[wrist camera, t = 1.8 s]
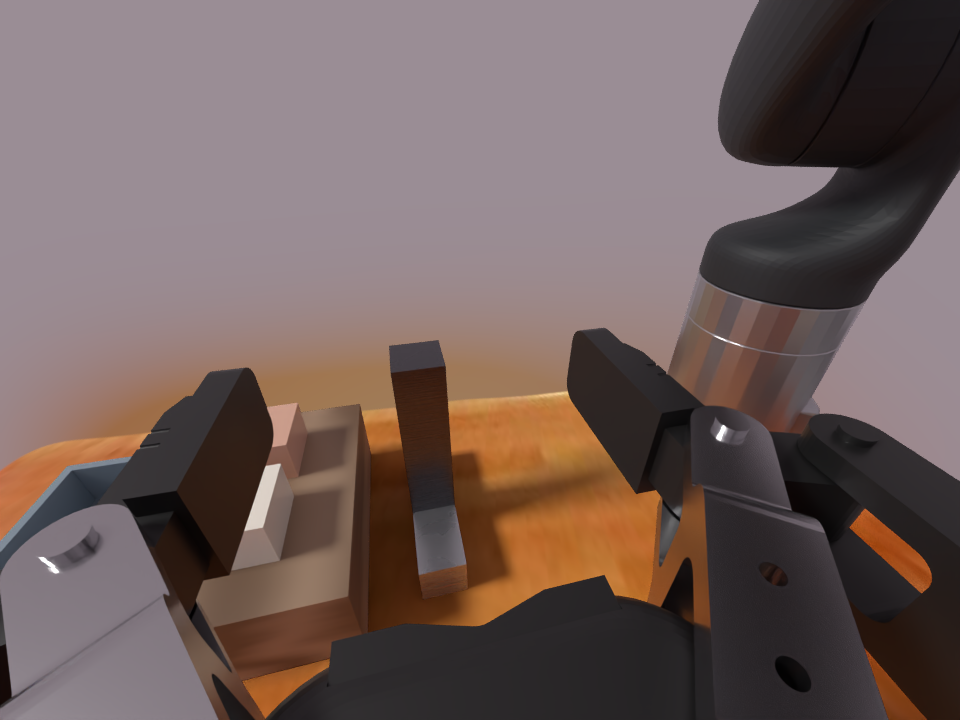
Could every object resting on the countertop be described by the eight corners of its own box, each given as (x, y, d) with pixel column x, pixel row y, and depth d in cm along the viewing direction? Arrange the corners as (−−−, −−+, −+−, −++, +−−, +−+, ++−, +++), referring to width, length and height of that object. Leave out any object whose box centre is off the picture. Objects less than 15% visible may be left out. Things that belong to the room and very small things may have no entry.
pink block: (307, 433, 30) (297, 402, 28) (298, 476, 26) (286, 444, 24) (246, 442, 29) (232, 411, 27) (227, 488, 25) (210, 456, 24)
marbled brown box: (370, 454, 36) (359, 404, 33) (367, 648, 23) (348, 596, 20) (231, 477, 34) (204, 426, 31) (137, 707, 21) (72, 659, 17)
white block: (294, 496, 25) (280, 463, 23) (279, 560, 21) (263, 527, 20) (219, 509, 24) (200, 476, 22) (191, 579, 20) (165, 545, 19)
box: (227, 477, 34) (209, 444, 32) (130, 709, 20) (89, 678, 18) (95, 499, 32) (67, 466, 30) (-105, 769, 19) (-181, 743, 16)
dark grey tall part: (442, 458, 36) (430, 310, 28) (467, 589, 26) (459, 417, 18) (409, 463, 35) (387, 314, 27) (422, 600, 25) (393, 428, 17)
